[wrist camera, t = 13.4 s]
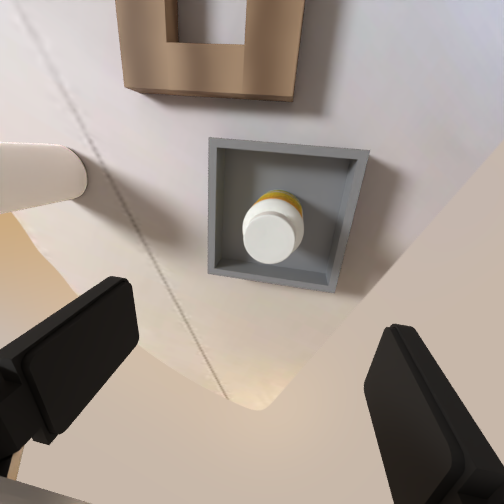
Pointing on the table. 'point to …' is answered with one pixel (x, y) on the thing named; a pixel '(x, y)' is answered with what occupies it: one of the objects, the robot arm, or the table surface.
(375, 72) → the table surface
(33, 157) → the can
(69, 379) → the robot arm
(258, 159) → the tray
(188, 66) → the brown wooden square frame
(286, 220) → the supplement bottle
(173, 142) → the table surface
